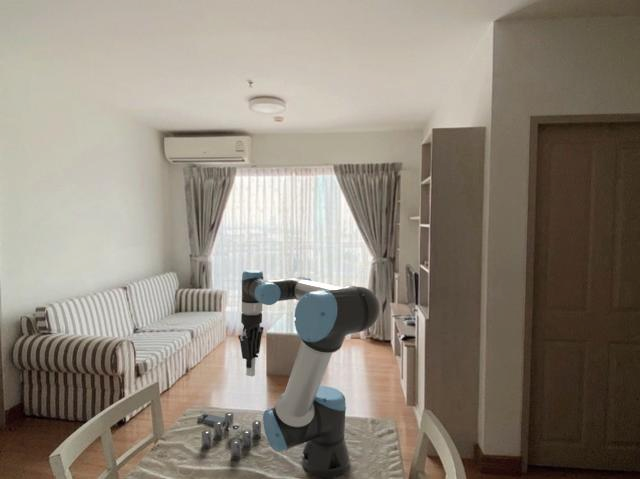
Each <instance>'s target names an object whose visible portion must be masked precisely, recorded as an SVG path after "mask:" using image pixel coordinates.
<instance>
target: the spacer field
mask: <svg viewBox="0 0 640 479" xmlns="http://www.w3.org/2000/svg"><path fill="white" fill-rule="evenodd" d="M224 418H225V424H224V425H223V422H222V421H216V422H214V426H213V439H214V440H220V439H222V438H223V430H226V431H228V428H229V426H230V425H232V424H234V412H230V411H229V412H228V411H227V412H226V413H225V414H224ZM251 424H252V425H251V426H252V428H251V429H243V432H242V440H241V441H240V440H238V439H236V440H233V441H232V442H230V459H231V461H239V459H240V458H241V449H243V450H249V449H250V448H251V447H252V439H254V440H259V439H260V438H261V437H262V422H261V420H253V422H252V423H251ZM211 447H212V430H210V429H204V430H202V432H201V449H202V450H209V449H210V448H211Z"/></svg>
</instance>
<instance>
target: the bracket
mask: <svg viewBox="0 0 640 479" xmlns="http://www.w3.org/2000/svg"><path fill="white" fill-rule="evenodd" d="M216 421H222V422H223V426H225V416H219V415H215V414H210V413H207V412H206V413H205V412H203V413H202V414H201V415H200V416H198V417H197V422H198V423H201V424H202V423H203V424H206V425H209V426H213V427H214V422H216Z"/></svg>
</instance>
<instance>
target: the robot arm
mask: <svg viewBox="0 0 640 479" xmlns="http://www.w3.org/2000/svg"><path fill="white" fill-rule="evenodd" d="M241 274H242V275H241V314H240V316H241V317H240V322H241V324H242V325H243V327H242V328H243V329H242V333H241V334H239V335H238V341H239V343H240V350H241V356H242V357H241V359H243V360H245V361H246V364H245V368H246V372H245V373H246V376H248V377H252V378H253V377H254V376H256V375H255V374H256V358H258V357H259V354H260V350H261V344H262V336H263V331H264V327H262V326H261V324H262V322H263V305H266V306H272V305H275V304H277V302H281V301H283V302H284V301H289V300H296V301H298V302H297V303H296V305H295V306H296V307H295V309H294V317H295V320H294V326H295V330H296V333H297V335H298V336H299V340H300V341H301V342H300V345H299V347H298V351H297V354H296V357H295V360H294V363H293V367H292V368H291V372H290V375H289V378H288V381H287V385H286V387H285V391H284V392H283V393H281V394H280V395H279V396H278V398H277V399H276V401H275V404H274V407H269V408H268V409H265V411H264V412H263V414H262V423H263V429H264V433H265V436H266V439H267V442H268V444H269V446H270V448H271V449H272V450H274V452H277V453H279V452H283V451H288V450H289V449H293V448H294V447H297V446H299V445H303V444H304V443H305V445H304V448H303V450H302V453H301V462H302V463H301V464H302V467H303V468H304V469H305V471H307V472H308V473H309V474H310V475H312V476H314V477H317V478H323V479H331V478H332V477H333V478H336V477H335V476H337V477H339V476H341V475H343V474H344V473H345V472H346V471H347V470H348V469H349V464H350V455H349V454H350V453H349V450H348V447H347V443H346V440H345V430H346V428H345V426H346V410H347V406H346V397H345V395H344V393H343V392H342V391H340V390H339V389H337V388H334V387H331V386H326V385H321V384H322V380H323V378H324V376H325V374H326V370H327V368H328V365H329V362H330V360H331V358H332V355H333V353H337V352H339V350H340V349H341V348H342V345H343V343H344V340H345V338H346V336H348V335H351V334H356V333H360V332H364V331H367V330H369V329H370V328H371V327H373V326H374V324H375V323H376V322H377V320H378V318H379V315H380V309H381V306H380V302H379V299H378V296H377V295H376V294H375V293H374V292H373V291H372V290H370V289H369V288H366V287H363V286H356V285H347V286H346V287H342V286H337V285H332V284H328V283H323V282H319V281H315V280H314V281H313V280H311V278H310V277H303V276H301V277H299V276H298V277H293V278H279V279H264V273H263V271H262V270H258V269H246V270H244V271H243V272H242V273H241ZM346 469H347V470H346ZM343 472H344V473H343ZM342 473H343V474H342ZM340 474H341V475H340ZM338 475H339V476H338Z"/></svg>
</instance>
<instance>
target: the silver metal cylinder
mask: <svg viewBox="0 0 640 479" xmlns="http://www.w3.org/2000/svg"><path fill="white" fill-rule="evenodd" d="M227 431H228V433H227V435H228V438H227V440H228V442H230V443H231V442H232V441H233V440H236V439H238V440H240V441H241V442H242V432H243V431H244V425H243V424H241V423H240V422H239V423H237V422H236V423H235V422H234V423H233V424H232V425H230V426H229V428H228V430H227Z"/></svg>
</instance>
